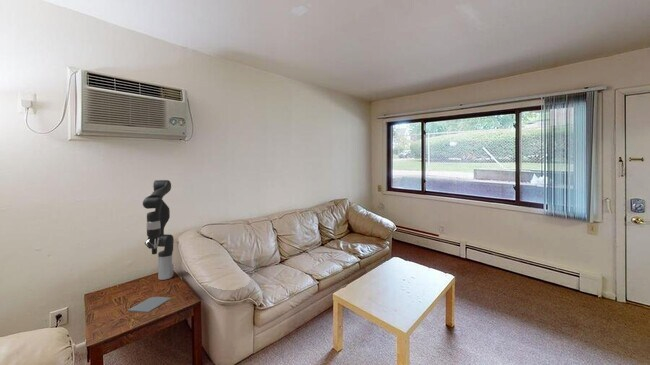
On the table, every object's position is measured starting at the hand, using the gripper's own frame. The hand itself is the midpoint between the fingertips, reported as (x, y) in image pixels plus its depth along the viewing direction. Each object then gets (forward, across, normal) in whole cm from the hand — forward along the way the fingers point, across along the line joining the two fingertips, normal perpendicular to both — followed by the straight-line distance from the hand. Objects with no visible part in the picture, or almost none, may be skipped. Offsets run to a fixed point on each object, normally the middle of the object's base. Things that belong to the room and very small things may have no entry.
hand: (154, 254), depth 166 cm
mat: (+29, +9, +4) cm, 31 cm away
